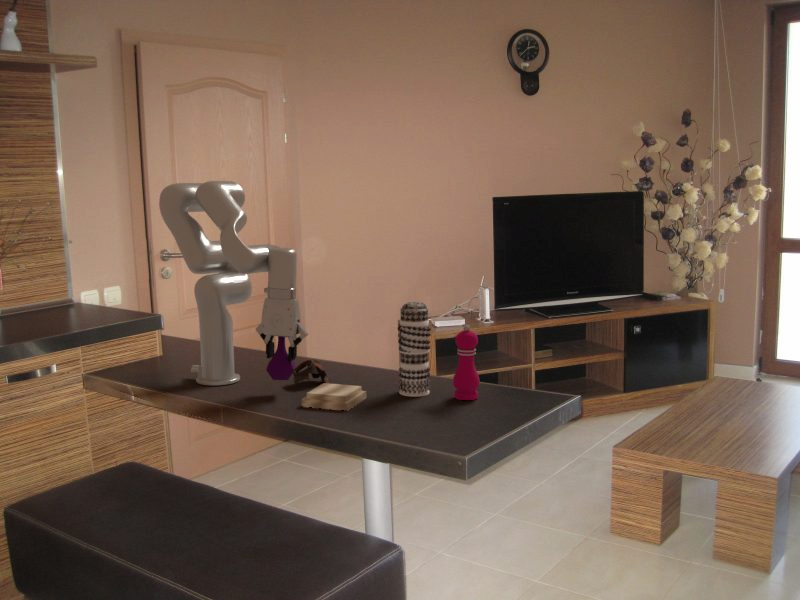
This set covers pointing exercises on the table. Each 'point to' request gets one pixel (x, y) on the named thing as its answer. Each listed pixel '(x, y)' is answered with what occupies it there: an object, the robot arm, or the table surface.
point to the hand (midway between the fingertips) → (281, 358)
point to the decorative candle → (414, 350)
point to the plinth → (334, 397)
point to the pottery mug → (310, 371)
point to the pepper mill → (466, 366)
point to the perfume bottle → (280, 363)
